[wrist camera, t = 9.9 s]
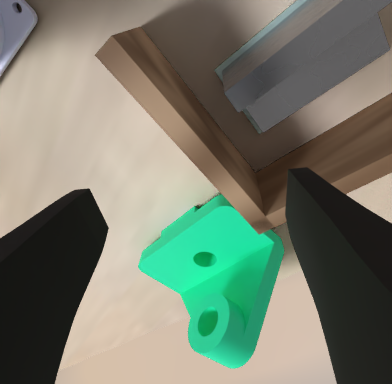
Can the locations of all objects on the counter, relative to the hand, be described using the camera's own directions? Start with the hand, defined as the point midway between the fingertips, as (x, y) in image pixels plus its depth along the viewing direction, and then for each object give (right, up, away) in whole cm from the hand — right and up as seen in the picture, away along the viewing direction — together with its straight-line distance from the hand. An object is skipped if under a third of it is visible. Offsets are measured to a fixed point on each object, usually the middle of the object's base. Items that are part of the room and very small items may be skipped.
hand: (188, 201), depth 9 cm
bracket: (+7, +8, +6) cm, 12 cm away
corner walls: (+6, +8, +6) cm, 12 cm away
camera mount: (+1, -4, +17) cm, 17 cm away
